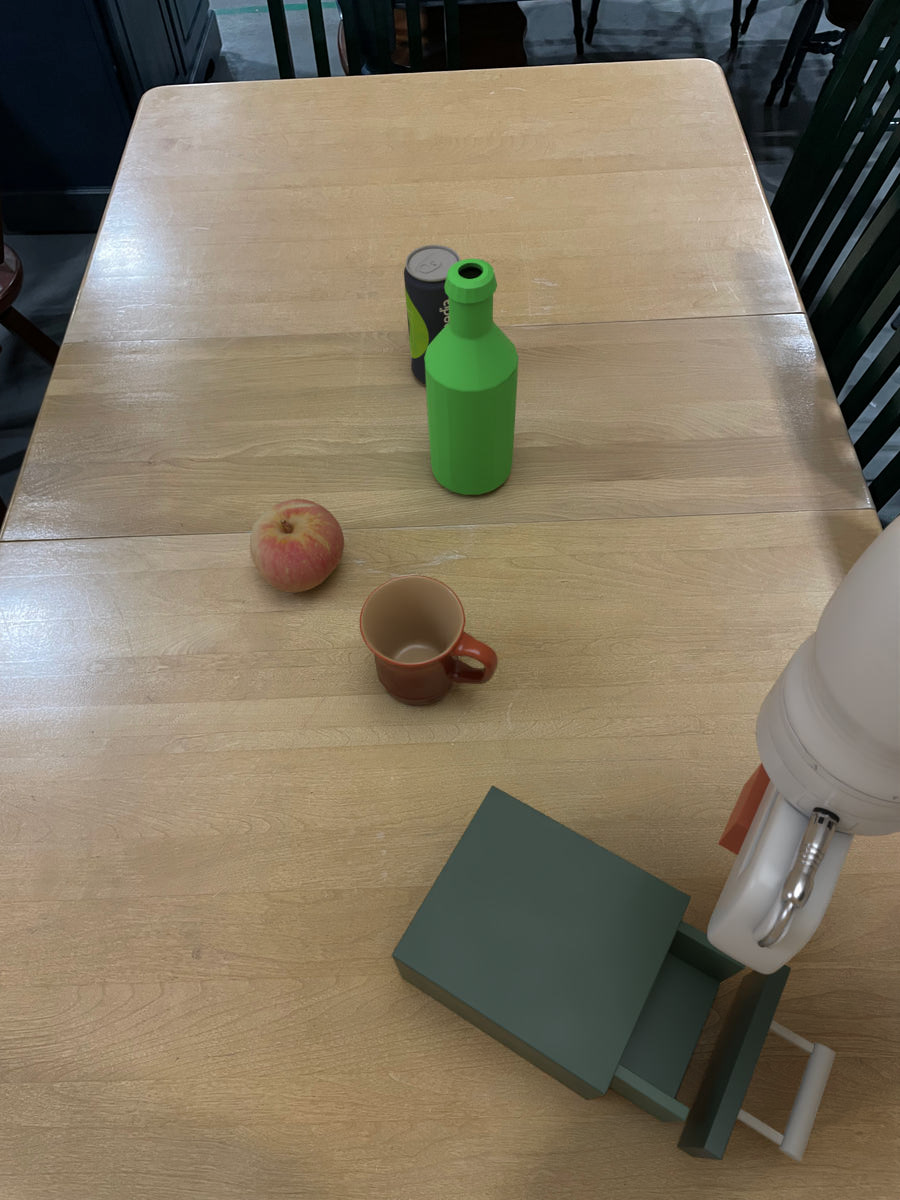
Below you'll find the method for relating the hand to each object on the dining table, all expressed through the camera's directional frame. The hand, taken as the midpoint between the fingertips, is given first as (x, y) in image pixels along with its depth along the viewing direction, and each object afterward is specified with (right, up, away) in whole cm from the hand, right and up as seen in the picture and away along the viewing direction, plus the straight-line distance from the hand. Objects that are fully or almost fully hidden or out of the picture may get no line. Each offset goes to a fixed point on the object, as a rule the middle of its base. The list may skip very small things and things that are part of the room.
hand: (773, 824), depth 52 cm
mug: (-21, +6, +27) cm, 35 cm away
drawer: (-4, -18, +10) cm, 21 cm away
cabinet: (-13, -14, +14) cm, 24 cm away
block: (0, -1, +1) cm, 2 cm away
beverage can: (-21, +41, +49) cm, 67 cm away
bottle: (-17, +28, +41) cm, 52 cm away
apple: (-35, +17, +34) cm, 51 cm away
